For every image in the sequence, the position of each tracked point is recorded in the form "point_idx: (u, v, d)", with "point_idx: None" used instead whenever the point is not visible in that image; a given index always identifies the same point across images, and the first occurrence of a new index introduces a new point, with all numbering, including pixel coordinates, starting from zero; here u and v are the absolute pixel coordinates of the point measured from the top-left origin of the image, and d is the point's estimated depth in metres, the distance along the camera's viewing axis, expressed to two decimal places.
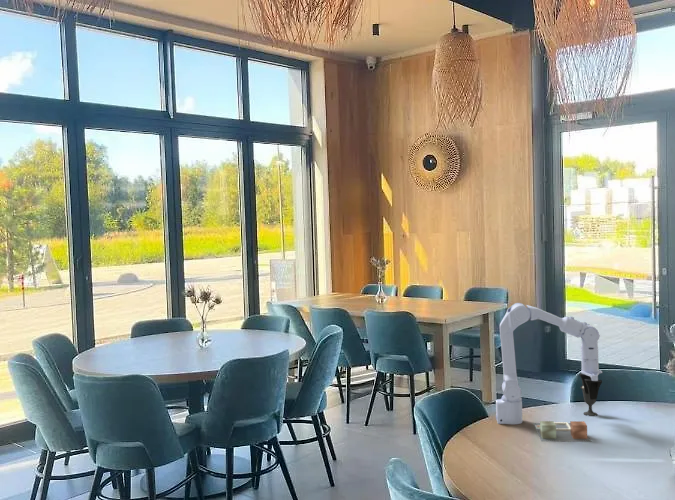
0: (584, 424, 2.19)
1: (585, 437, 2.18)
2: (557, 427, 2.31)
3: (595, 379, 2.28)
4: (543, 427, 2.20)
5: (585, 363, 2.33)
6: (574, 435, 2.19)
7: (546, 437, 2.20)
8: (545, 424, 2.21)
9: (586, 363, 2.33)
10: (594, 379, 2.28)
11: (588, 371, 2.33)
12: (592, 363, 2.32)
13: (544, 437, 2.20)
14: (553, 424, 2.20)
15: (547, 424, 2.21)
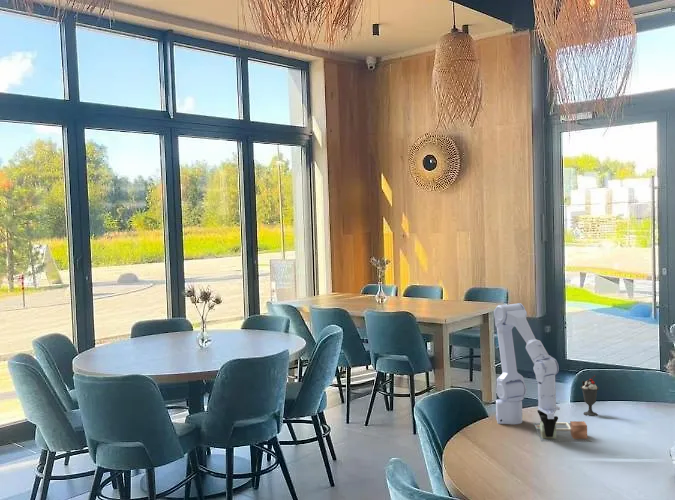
0: (584, 424, 2.19)
1: (585, 437, 2.18)
2: (557, 427, 2.31)
3: (551, 417, 2.15)
4: (543, 427, 2.20)
5: (541, 399, 2.20)
6: (574, 435, 2.19)
7: (546, 437, 2.20)
8: None
9: (542, 399, 2.20)
10: (550, 417, 2.15)
11: (545, 408, 2.19)
12: (549, 399, 2.19)
13: (544, 437, 2.20)
14: None
15: None
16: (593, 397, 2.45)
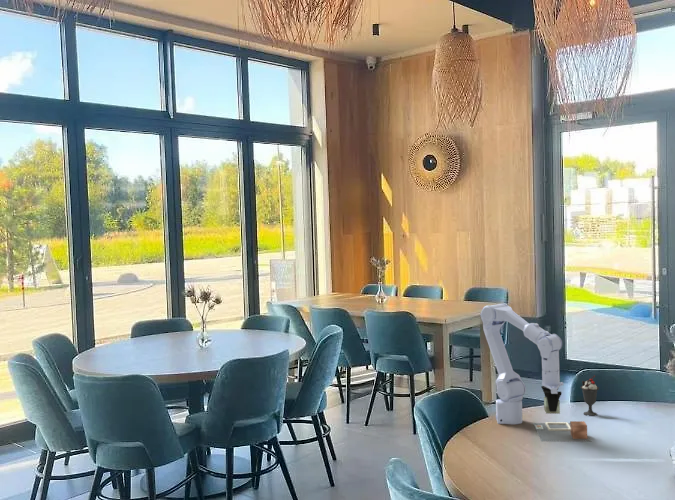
0: (584, 424, 2.19)
1: (585, 437, 2.18)
2: (557, 427, 2.31)
3: (554, 392, 2.18)
4: (547, 402, 2.24)
5: (545, 375, 2.24)
6: (574, 435, 2.19)
7: (550, 412, 2.24)
8: None
9: (546, 375, 2.23)
10: (553, 392, 2.18)
11: (548, 383, 2.23)
12: (552, 375, 2.23)
13: (548, 412, 2.24)
14: None
15: None
16: (593, 397, 2.45)
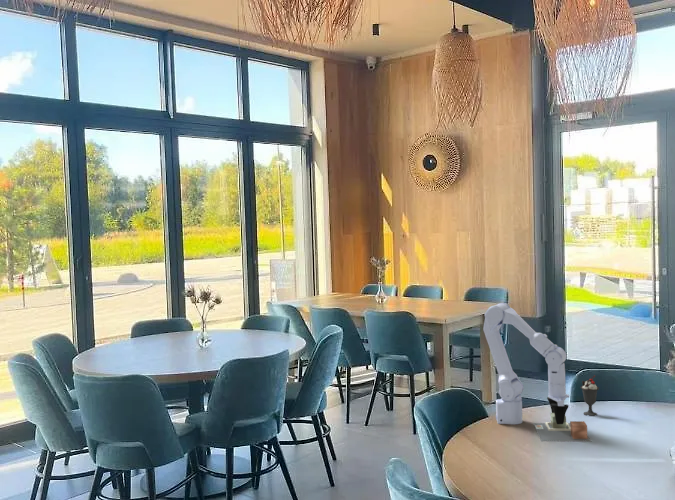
0: (584, 424, 2.19)
1: (585, 437, 2.18)
2: None
3: (561, 404, 2.24)
4: (554, 418, 2.29)
5: (552, 387, 2.29)
6: (574, 435, 2.19)
7: (557, 428, 2.29)
8: None
9: (553, 387, 2.29)
10: (560, 404, 2.24)
11: (555, 395, 2.28)
12: (559, 387, 2.28)
13: (555, 428, 2.29)
14: None
15: None
16: (593, 397, 2.45)
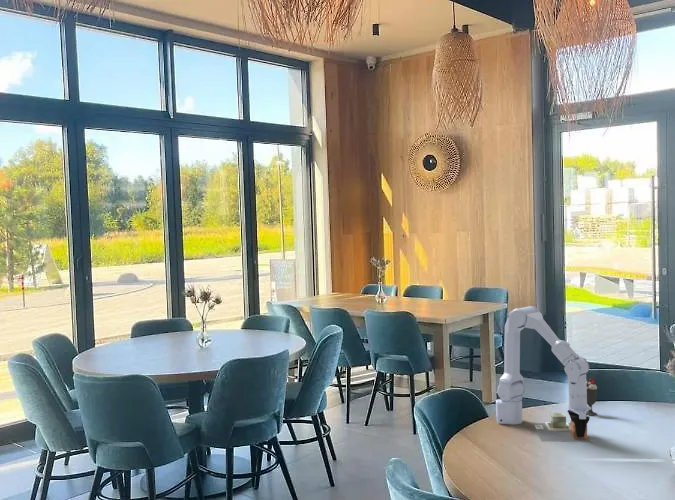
0: None
1: (585, 437, 2.18)
2: None
3: (583, 417, 2.13)
4: (554, 418, 2.29)
5: (572, 399, 2.18)
6: (574, 435, 2.19)
7: (557, 428, 2.29)
8: (555, 415, 2.30)
9: (574, 399, 2.18)
10: (582, 417, 2.13)
11: (576, 408, 2.18)
12: (580, 399, 2.17)
13: (555, 428, 2.29)
14: (563, 415, 2.29)
15: (557, 415, 2.30)
16: (593, 397, 2.45)
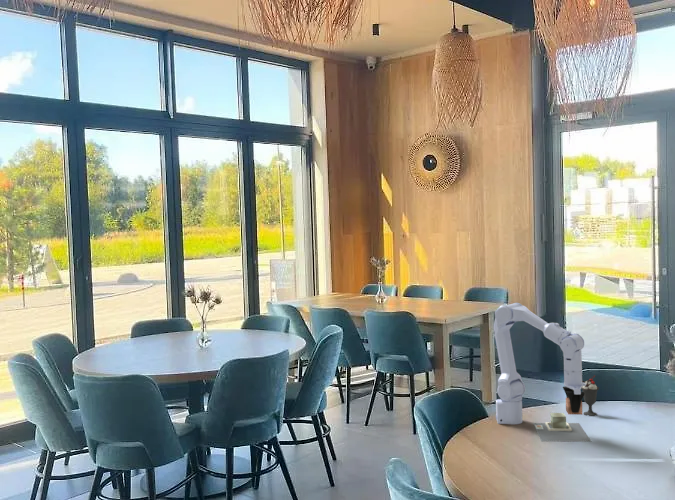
0: None
1: (580, 413, 2.20)
2: None
3: (578, 392, 2.15)
4: (554, 418, 2.29)
5: (568, 375, 2.20)
6: (569, 411, 2.20)
7: (557, 428, 2.29)
8: (555, 415, 2.30)
9: (569, 375, 2.20)
10: (577, 392, 2.15)
11: (571, 384, 2.19)
12: (575, 375, 2.19)
13: (555, 428, 2.29)
14: (563, 415, 2.29)
15: (557, 415, 2.30)
16: (593, 397, 2.45)
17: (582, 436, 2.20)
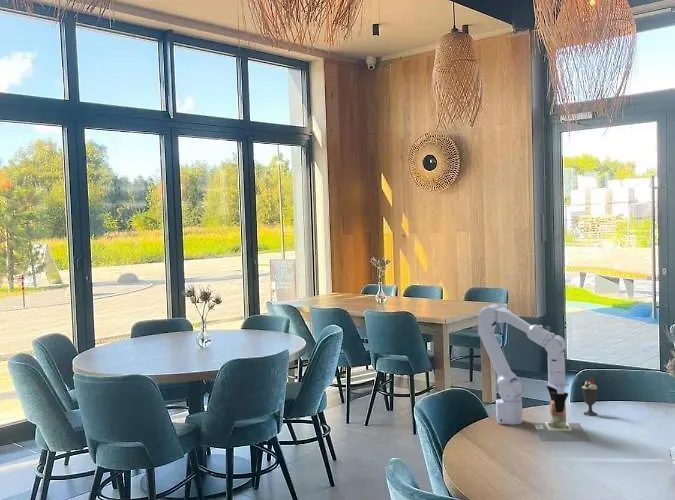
0: None
1: (564, 415, 2.28)
2: None
3: (561, 392, 2.23)
4: (554, 418, 2.29)
5: (551, 375, 2.29)
6: (553, 413, 2.29)
7: (557, 428, 2.29)
8: None
9: (552, 375, 2.28)
10: (560, 392, 2.23)
11: (554, 384, 2.28)
12: (558, 375, 2.28)
13: (555, 428, 2.29)
14: None
15: None
16: (593, 397, 2.45)
17: (582, 436, 2.20)
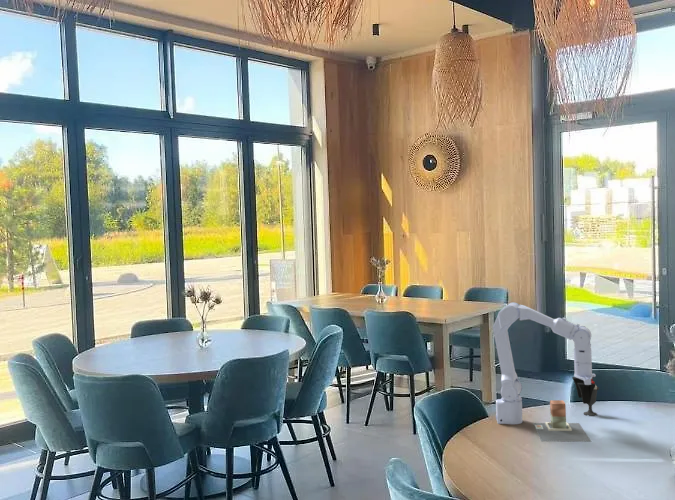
0: (563, 403, 2.29)
1: (564, 415, 2.28)
2: None
3: (588, 383, 2.22)
4: (554, 418, 2.29)
5: (578, 366, 2.27)
6: (553, 413, 2.29)
7: (557, 428, 2.29)
8: None
9: (579, 366, 2.27)
10: (587, 383, 2.22)
11: (581, 375, 2.27)
12: (585, 366, 2.26)
13: (555, 428, 2.29)
14: None
15: None
16: (593, 397, 2.45)
17: (582, 436, 2.20)
